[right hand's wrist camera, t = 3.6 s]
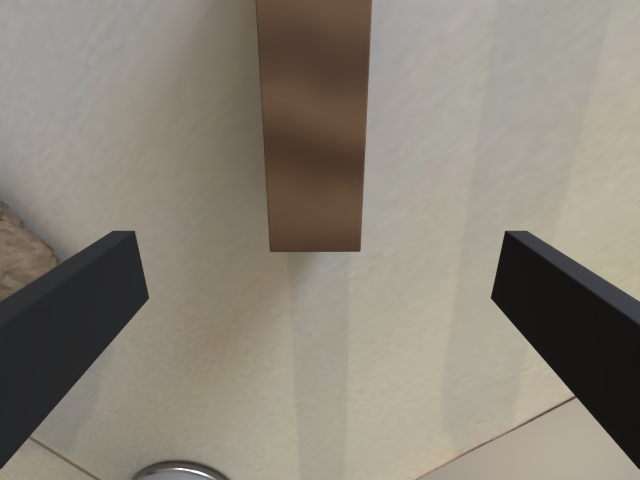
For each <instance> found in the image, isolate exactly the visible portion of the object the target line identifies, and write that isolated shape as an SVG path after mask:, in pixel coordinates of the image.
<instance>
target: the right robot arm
mask: <svg viewBox="0 0 640 480" xmlns="http://www.w3.org/2000/svg"><path fill="white" fill-rule="evenodd" d="M148 299H149V295H148V291H147V286H146V281H145V277H144V272H143V267H142V263H141V258H140V253H139V249H138V244H137V239H136V235H135V231H112V232H111V233H109V234H107V235H106V236H104V237H103V238H101V239H99V240H98V241H96V242H95V243H93V244H91V245H90V246H88V247H87V248H85V249H84V250H82V251H80V252H79V253H77V254H76V255H74V256H72V257H71V258H69V259H68V260H66V261H64V262H63V263H61V264H60V265H58V266H56V267H55V268H53V269H52V270H50V271H48V272H47V273H45V274H44V275H42V276H41V277H39V278H37V279H36V280H34V281H33V282H31V283H29V284H28V285H26V286H25V287H23V288H21V289H20V290H18V291H17V292H15V293H13V294H12V295H10V296H9V297H7V298H5V299H4V300H2V301H1V302H0V469H2V467H3V466H4V465H5V464H6V463H7V462H8V460H9V459H10V458H11V457H12V456H13V455H14V454H15V452H16V451H17V450H18V449H19V448H20V447H21V445H22V444H23V443H24V442H25V441H26V440H27V439H28V437H29V436H30V435H31V434H32V433H33V432H34V430H35V429H36V428H37V427H38V426H39V425H40V424H41V422H42V421H43V420H44V419H45V418H46V417H47V415H48V414H49V413H50V412H51V411H52V410H53V409H54V407H55V406H56V405H57V404H58V403H59V402H60V400H61V399H62V398H63V397H64V396H65V395H66V394H67V392H68V391H69V390H70V389H71V388H72V387H73V385H74V384H75V383H76V382H77V381H78V380H79V379H80V377H81V376H82V375H83V374H84V373H85V372H86V370H87V369H88V368H89V367H90V366H91V365H92V364H93V362H94V361H95V360H96V359H97V358H98V357H99V355H100V354H101V353H102V352H103V351H104V350H105V349H106V347H107V346H108V345H109V344H110V343H111V342H112V340H113V339H114V338H115V337H116V336H117V335H118V334H119V332H120V331H121V330H122V329H123V328H124V327H125V325H126V324H127V323H128V322H129V321H130V320H131V319H132V317H133V316H134V315H135V314H136V313H137V312H138V310H139V309H140V308H141V307H142V306H143V305H144V304H145V302H146V301H147V300H148ZM491 299H492V300H493V301H494V302H495V304H496V305H497V306H498V307H499V308H500V309H501V310H502V312H503V313H504V314H505V315H506V316H507V317H508V319H509V320H510V321H511V322H512V323H513V324H514V325H515V327H516V328H517V329H518V330H519V331H520V332H521V334H522V335H523V336H524V337H525V338H526V339H527V340H528V342H529V343H530V344H531V345H532V346H533V347H534V349H535V350H536V351H537V352H538V353H539V354H540V355H541V357H542V358H543V359H544V360H545V361H546V362H547V364H548V365H549V366H550V367H551V368H552V369H553V370H554V372H555V373H556V374H557V375H558V376H559V377H560V379H561V380H562V381H563V382H564V383H565V384H566V385H567V387H568V388H569V389H570V390H571V391H572V392H573V394H574V395H575V396H576V397H577V398H578V399H579V400H580V402H581V403H582V404H583V405H584V406H585V407H586V409H587V410H588V411H589V412H590V413H591V414H592V415H593V417H594V418H595V419H596V420H597V421H598V422H599V424H600V425H601V426H602V427H603V428H604V429H605V430H606V432H607V433H608V434H609V435H610V436H611V437H612V439H613V440H614V441H615V442H616V443H617V444H618V445H619V447H620V448H621V449H622V450H623V451H624V452H625V454H626V455H627V456H628V457H629V458H630V459H631V460H632V462H633V463H634V464H635V465H636V466H637V467H638V469H640V302H639V301H638V300H636V299H635V298H633V297H631V296H630V295H628V294H627V293H625V292H623V291H622V290H620V289H619V288H617V287H615V286H614V285H612V284H611V283H609V282H607V281H606V280H604V279H603V278H601V277H599V276H598V275H596V274H595V273H593V272H592V271H590V270H588V269H587V268H585V267H584V266H582V265H580V264H579V263H577V262H576V261H574V260H572V259H571V258H569V257H568V256H566V255H564V254H563V253H561V252H560V251H558V250H556V249H555V248H553V247H552V246H550V245H549V244H547V243H545V242H544V241H542V240H541V239H539V238H537V237H536V236H534V235H533V234H531V233H529V232H528V231H505V235H504V239H503V244H502V249H501V253H500V258H499V263H498V267H497V272H496V277H495V281H494V286H493V291H492V295H491ZM132 480H228V479H227V478H226V477H225V476H224V475H222V474H221V473H219V472H218V471H216V470H214V469H212V468H210V467H207V466H204V465H201V464H198V463H193V462H187V461H167V462H161V463H156V464H153V465H151V466H148V467H146V468H144V469H143V470H141V471H140V472H138V473H137V474H136V475H135V476H134V477H133V479H132Z"/></svg>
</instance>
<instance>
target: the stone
mask: <svg viewBox="0 0 640 480" xmlns="http://www.w3.org/2000/svg"><path fill="white" fill-rule="evenodd" d="M60 264H61V262H60V261H59V259H58V257H57V256H56V255H55V254H54V252H53V249H52V247H50V246H49V245H48V244H47V243H46V242H44V241H42V240H41V238H40V237H39V236H37V235H35V234H33V233H32V232H31V231H30V230H29V229H27V228H26V226H25V225H24V224H23V222H22V220H21V218H19V217H18V216H16V215H15V214H14V213H13V212H12V211H11V210H10V209H9V208H8V206H7V205H6V203H5V202H4V201H3V200H0V302H1V301H2V300H4V299H5V298H7V297H9V296H10V295H12V294H13V293H15V292H17V291H18V290H20V289H21V288H23V287H25V286H26V285H28V284H29V283H31V282H33V281H34V280H36V279H37V278H39V277H41V276H42V275H44V274H45V273H47V272H48V271H50V270H52V269H53V268H55V267H56V266H58V265H60Z"/></svg>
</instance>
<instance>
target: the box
mask: <svg viewBox="0 0 640 480" xmlns="http://www.w3.org/2000/svg"><path fill="white" fill-rule="evenodd" d="M371 13H372V0H256V14H257V32H258V49H259V67H260V84H261V102H262V119H263V137H264V154H265V172H266V189H267V207H268V224H269V242H270V252H359V251H360V250H361V229H362V207H363V185H364V164H365V142H366V121H367V99H368V77H369V56H370V34H371Z"/></svg>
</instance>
